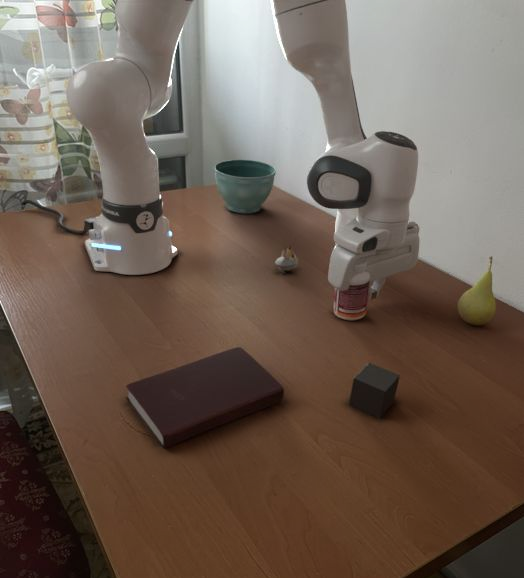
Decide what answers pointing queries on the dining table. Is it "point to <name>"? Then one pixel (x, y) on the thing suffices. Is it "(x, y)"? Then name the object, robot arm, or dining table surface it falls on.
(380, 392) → the charcoal block
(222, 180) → the flower pot
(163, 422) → the book
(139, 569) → the dining table surface
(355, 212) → the cup
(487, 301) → the fruit
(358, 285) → the pill bottle
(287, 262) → the figurine
